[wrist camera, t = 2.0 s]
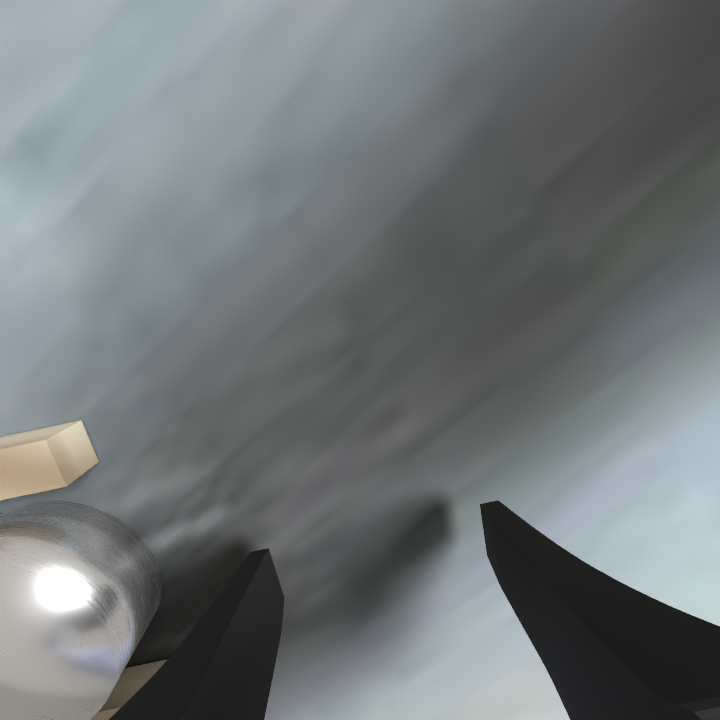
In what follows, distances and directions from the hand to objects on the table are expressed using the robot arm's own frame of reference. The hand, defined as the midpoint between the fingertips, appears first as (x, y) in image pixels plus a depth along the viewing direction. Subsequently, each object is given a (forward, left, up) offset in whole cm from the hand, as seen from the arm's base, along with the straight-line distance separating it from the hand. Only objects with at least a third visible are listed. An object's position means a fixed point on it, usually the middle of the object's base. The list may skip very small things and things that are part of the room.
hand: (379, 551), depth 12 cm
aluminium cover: (0, +12, -2) cm, 12 cm away
